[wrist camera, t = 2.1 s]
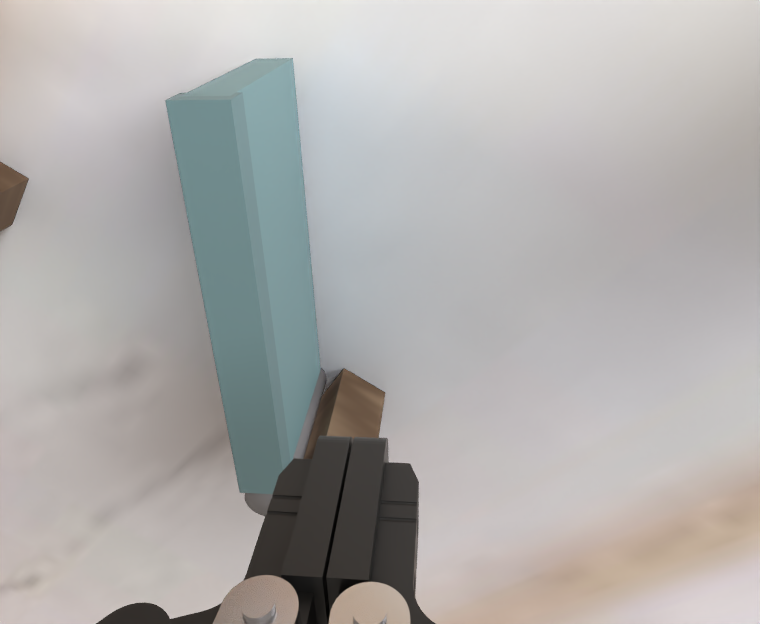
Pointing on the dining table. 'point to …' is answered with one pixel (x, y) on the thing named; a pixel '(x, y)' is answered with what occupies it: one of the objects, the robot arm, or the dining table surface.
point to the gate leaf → (253, 262)
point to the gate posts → (338, 404)
